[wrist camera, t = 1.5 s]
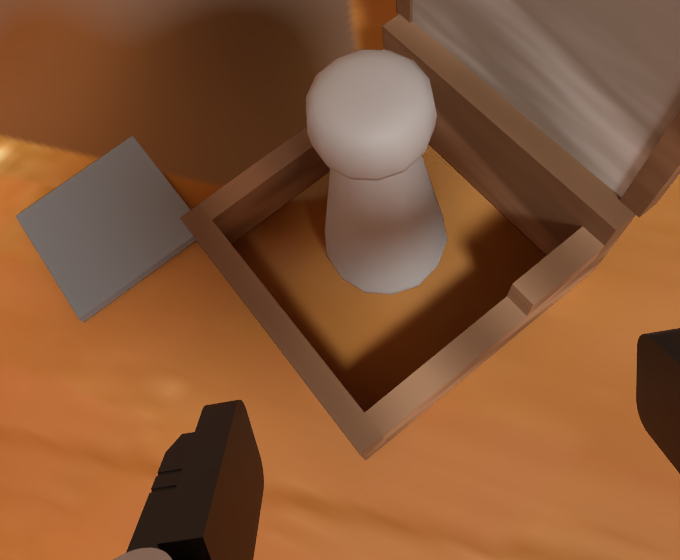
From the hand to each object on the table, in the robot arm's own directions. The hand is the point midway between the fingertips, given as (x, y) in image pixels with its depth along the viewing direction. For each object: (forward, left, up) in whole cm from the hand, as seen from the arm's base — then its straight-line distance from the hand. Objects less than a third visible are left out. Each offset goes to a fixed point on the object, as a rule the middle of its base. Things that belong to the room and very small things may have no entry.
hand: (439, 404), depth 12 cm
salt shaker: (-5, -9, -16) cm, 19 cm away
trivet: (+5, -20, -16) cm, 26 cm away
